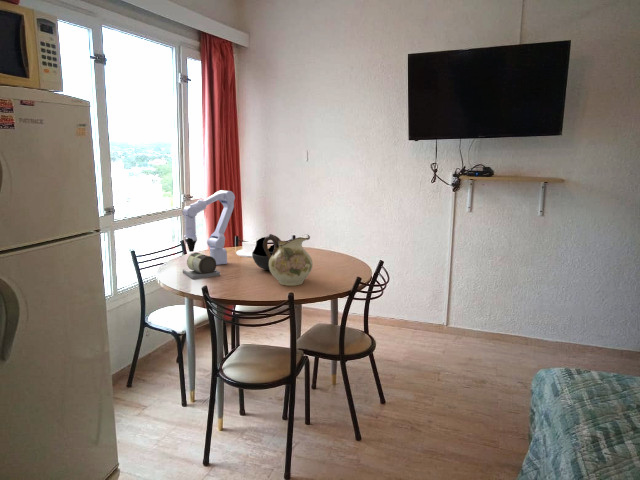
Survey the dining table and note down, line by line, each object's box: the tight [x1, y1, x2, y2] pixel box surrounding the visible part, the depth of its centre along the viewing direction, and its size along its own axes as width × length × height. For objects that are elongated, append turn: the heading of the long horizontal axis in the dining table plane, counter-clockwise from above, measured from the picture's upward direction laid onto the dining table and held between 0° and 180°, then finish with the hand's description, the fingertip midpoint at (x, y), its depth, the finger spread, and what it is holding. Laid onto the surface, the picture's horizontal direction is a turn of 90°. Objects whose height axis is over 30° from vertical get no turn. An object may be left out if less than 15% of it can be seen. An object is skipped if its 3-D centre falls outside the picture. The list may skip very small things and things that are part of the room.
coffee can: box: [186, 251, 217, 274], centre depth 250 cm, size 10×10×14 cm
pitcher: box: [263, 233, 313, 287], centre depth 232 cm, size 22×24×25 cm
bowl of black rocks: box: [252, 236, 279, 271], centre depth 257 cm, size 20×20×19 cm
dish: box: [236, 236, 263, 258], centre depth 300 cm, size 25×25×11 cm
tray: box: [182, 268, 221, 280], centre depth 249 cm, size 15×16×2 cm
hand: (191, 251), depth 259 cm, fingers closed
